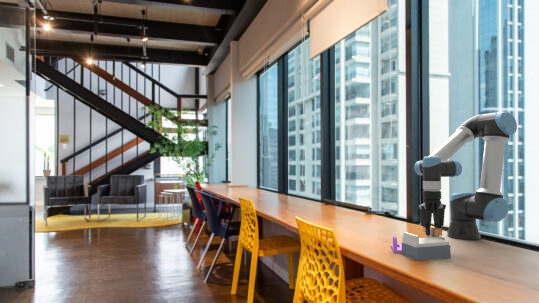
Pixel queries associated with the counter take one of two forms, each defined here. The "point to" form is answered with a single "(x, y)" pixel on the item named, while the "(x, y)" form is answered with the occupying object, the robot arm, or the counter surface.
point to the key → (436, 232)
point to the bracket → (396, 246)
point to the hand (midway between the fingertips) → (432, 242)
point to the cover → (422, 241)
